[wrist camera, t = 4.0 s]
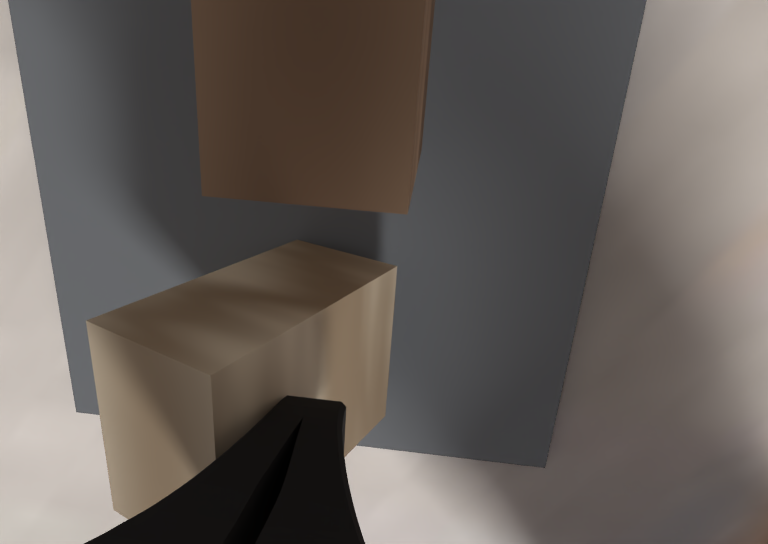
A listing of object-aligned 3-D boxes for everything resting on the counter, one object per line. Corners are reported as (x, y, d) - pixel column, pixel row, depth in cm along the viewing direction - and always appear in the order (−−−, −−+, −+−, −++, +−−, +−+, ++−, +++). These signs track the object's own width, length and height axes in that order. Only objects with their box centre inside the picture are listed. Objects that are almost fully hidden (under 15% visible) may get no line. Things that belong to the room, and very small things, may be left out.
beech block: (399, 264, 15) (210, 375, 10) (387, 413, 17) (222, 580, 12) (299, 238, 17) (86, 320, 11) (298, 378, 19) (113, 509, 13)
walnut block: (439, -53, 14) (438, -152, 7) (421, 149, 16) (406, 214, 9) (302, -60, 14) (182, -164, 8) (300, 139, 16) (202, 195, 9)
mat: (654, -60, 14) (660, -64, 13) (542, 460, 19) (544, 467, 19) (2, -97, 15) (-9, -101, 14) (82, 405, 21) (76, 411, 20)
